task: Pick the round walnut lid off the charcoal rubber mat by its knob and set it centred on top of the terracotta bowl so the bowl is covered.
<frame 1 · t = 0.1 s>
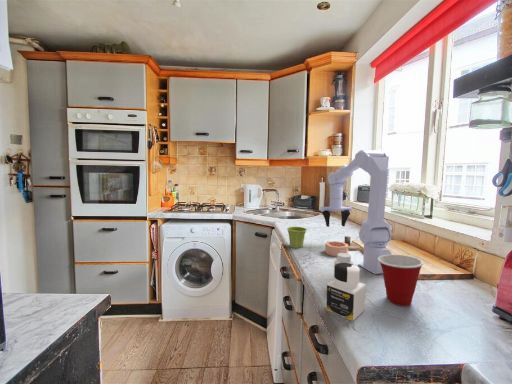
hand: (335, 226, 119), 10 cm above the counter, tool pointing down, fingers open, 7 cm apart
plant pot: (296, 246, 119), on the counter
mat: (347, 247, 117), on the counter
plastic cup: (397, 301, 69), on the counter
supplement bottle: (343, 287, 77), on the counter
lid: (347, 246, 117), resting on mat
medicine bottle: (345, 311, 64), on the counter
bowl: (336, 254, 108), on the counter
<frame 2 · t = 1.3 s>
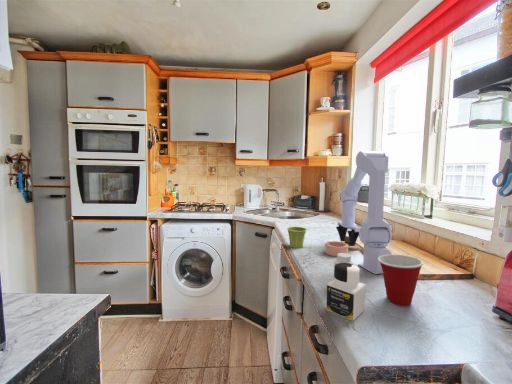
hand: (347, 243, 117), 2 cm above the counter, tool pointing down, fingers open, 7 cm apart
nothing on the counter moved.
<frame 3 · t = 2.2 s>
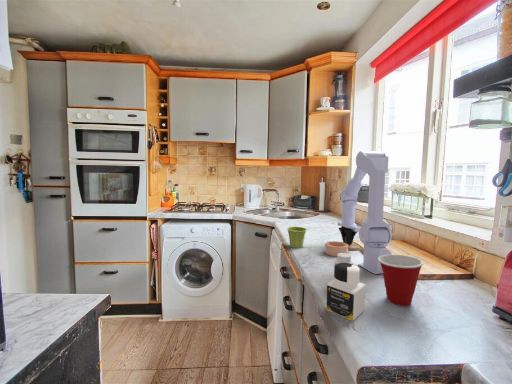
hand: (347, 243, 117), 2 cm above the counter, tool pointing down, fingers closed on lid, 3 cm apart
lid: (347, 246, 117), resting on mat, touching gripper
everything else where it was.
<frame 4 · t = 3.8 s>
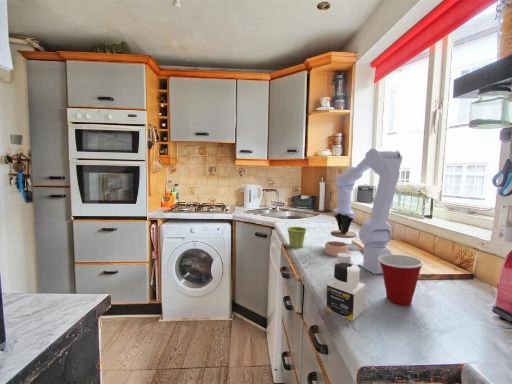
hand: (343, 231, 112), 9 cm above the counter, tool pointing down, fingers closed on lid, 3 cm apart
lid: (343, 234, 112), point 7 cm above the counter, touching gripper
everything else where it was.
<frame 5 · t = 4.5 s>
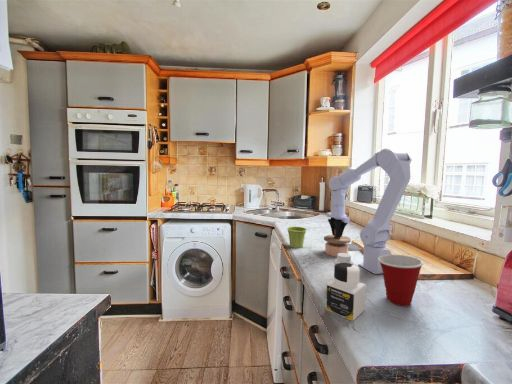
hand: (337, 236, 107), 8 cm above the counter, tool pointing down, fingers closed on lid, 3 cm apart
lid: (337, 240, 108), point 6 cm above the counter, touching gripper
everything else where it was.
when the fingers open (8 cm above the counter, at t = 5.2 s): lid drops 1 cm, resting on bowl.
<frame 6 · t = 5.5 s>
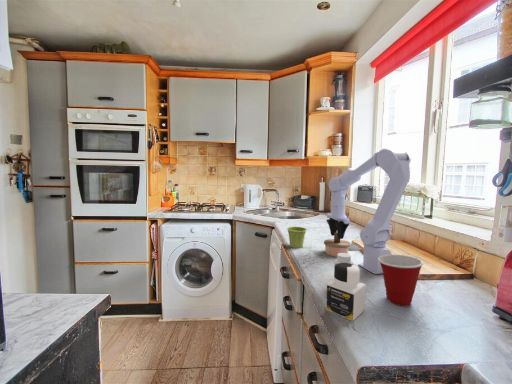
hand: (337, 237, 107), 8 cm above the counter, tool pointing down, fingers open, 5 cm apart
lid: (337, 244, 108), point 4 cm above the counter, touching bowl
everything else where it was.
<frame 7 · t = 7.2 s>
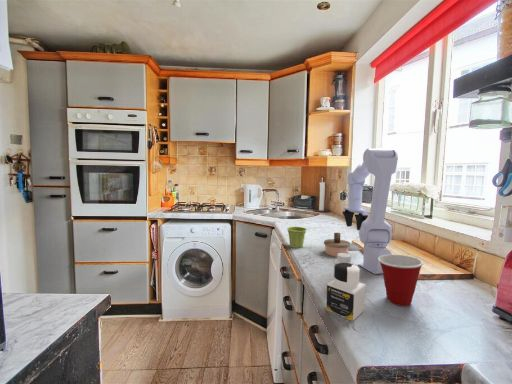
hand: (354, 228, 114), 10 cm above the counter, tool pointing down, fingers open, 7 cm apart
nothing on the counter moved.
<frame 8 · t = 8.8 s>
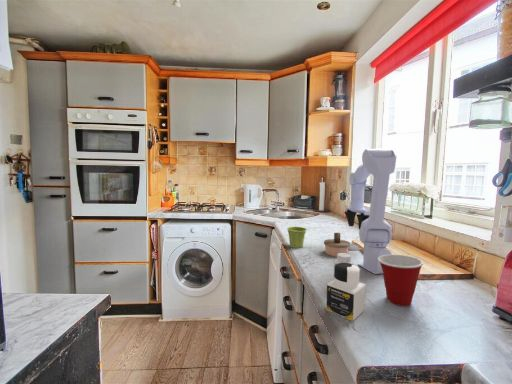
hand: (356, 228, 115), 10 cm above the counter, tool pointing down, fingers open, 7 cm apart
nothing on the counter moved.
at the end: lid 0.1 cm off-centre on the bowl, point 4.5 cm above the bowl's base; lid tilted 0°; the gripper is holding nothing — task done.
